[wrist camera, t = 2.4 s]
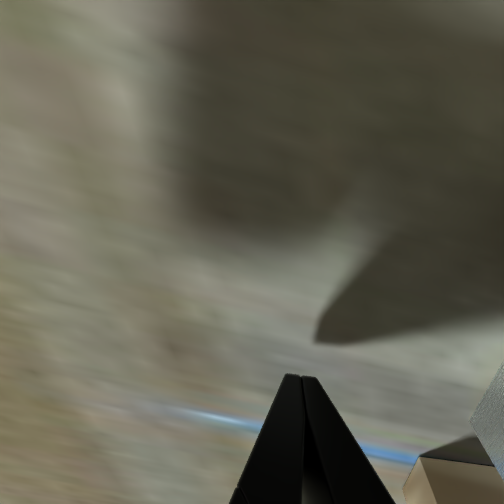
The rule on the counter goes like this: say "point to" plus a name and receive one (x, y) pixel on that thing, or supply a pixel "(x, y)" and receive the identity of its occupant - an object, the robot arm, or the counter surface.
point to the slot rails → (453, 483)
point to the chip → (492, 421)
